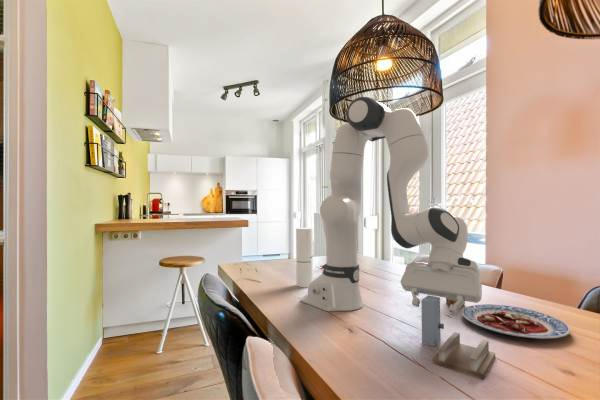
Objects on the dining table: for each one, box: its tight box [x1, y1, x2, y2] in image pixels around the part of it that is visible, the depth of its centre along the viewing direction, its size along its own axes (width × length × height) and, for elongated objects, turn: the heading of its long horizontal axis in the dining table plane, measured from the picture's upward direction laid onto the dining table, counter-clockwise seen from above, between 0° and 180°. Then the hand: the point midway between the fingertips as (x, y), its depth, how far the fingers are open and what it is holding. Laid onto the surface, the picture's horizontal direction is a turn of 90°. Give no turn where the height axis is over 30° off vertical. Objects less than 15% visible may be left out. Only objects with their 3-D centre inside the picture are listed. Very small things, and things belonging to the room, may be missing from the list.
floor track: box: [432, 331, 496, 380], centre depth 71 cm, size 10×12×4 cm
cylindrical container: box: [295, 227, 314, 288], centre depth 137 cm, size 7×7×25 cm
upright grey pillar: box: [420, 295, 445, 347], centre depth 81 cm, size 4×5×11 cm
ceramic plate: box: [461, 303, 571, 340], centre depth 91 cm, size 26×26×3 cm
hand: (433, 309), depth 81 cm, fingers open, 8 cm apart
